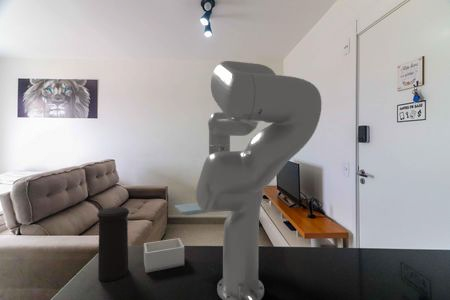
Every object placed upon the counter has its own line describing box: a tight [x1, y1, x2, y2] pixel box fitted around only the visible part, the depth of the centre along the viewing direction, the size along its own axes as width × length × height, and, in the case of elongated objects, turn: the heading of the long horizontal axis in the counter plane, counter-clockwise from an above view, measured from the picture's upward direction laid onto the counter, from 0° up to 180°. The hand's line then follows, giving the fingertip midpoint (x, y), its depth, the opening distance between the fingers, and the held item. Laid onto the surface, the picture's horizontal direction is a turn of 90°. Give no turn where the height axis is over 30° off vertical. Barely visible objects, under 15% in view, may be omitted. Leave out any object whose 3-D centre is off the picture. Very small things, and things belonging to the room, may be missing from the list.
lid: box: [174, 202, 209, 216], centre depth 82 cm, size 9×16×8 cm, turn 116°
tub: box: [143, 237, 185, 273], centre depth 78 cm, size 8×12×6 cm, turn 113°
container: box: [96, 206, 130, 282], centre depth 71 cm, size 9×9×20 cm
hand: (219, 201), depth 85 cm, fingers closed on lid, 3 cm apart
